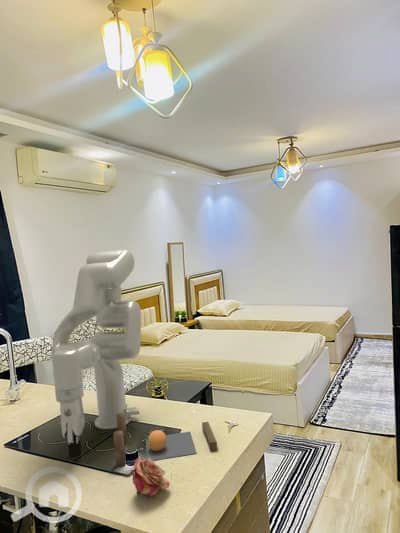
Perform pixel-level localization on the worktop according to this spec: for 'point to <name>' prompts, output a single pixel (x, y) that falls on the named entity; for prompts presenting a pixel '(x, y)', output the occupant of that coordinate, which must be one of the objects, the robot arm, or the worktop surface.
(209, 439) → the brown wooden bar
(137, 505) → the worktop surface
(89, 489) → the worktop surface
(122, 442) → the near post
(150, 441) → the ball
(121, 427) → the far post
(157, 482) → the flower
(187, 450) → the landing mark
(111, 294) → the robot arm
